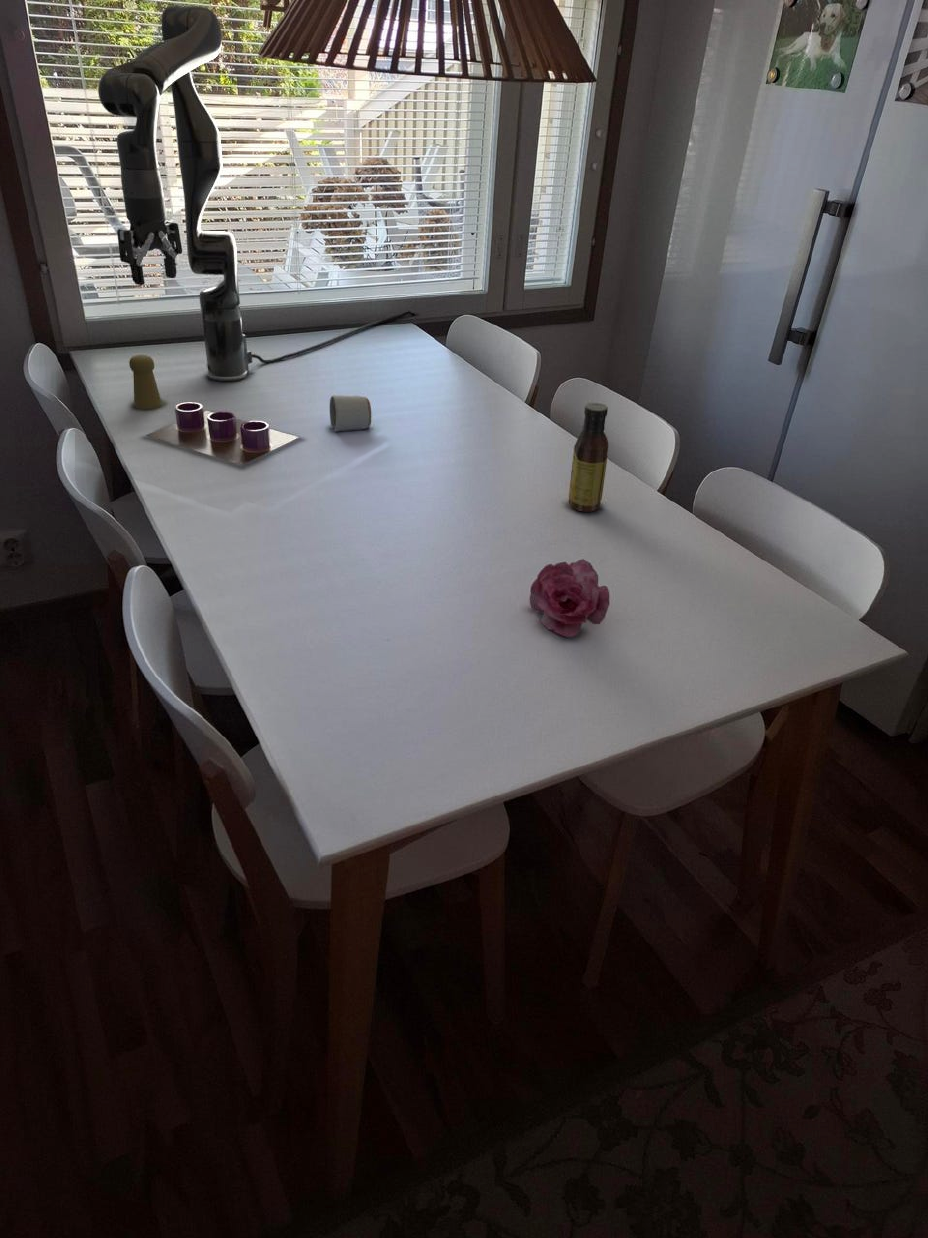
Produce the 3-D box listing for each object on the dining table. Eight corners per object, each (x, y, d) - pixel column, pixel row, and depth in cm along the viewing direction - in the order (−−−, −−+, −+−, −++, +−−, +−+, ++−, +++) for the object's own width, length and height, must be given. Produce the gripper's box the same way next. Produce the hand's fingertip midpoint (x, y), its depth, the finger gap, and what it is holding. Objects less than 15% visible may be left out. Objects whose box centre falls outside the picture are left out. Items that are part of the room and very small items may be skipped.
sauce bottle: (581, 496, 166) (595, 396, 155) (607, 507, 162) (623, 406, 151) (559, 505, 162) (572, 404, 151) (585, 517, 159) (600, 414, 147)
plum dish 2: (208, 432, 181) (205, 412, 179) (234, 430, 183) (232, 410, 180) (211, 442, 177) (208, 422, 174) (238, 440, 179) (236, 419, 176)
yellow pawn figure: (157, 410, 192) (149, 361, 186) (130, 408, 192) (122, 359, 186) (165, 400, 197) (158, 352, 191) (139, 399, 197) (131, 351, 191)
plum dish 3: (254, 438, 180) (253, 418, 177) (275, 444, 178) (274, 424, 175) (236, 447, 176) (234, 426, 173) (257, 453, 173) (256, 433, 171)
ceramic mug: (373, 433, 187) (372, 399, 182) (336, 436, 184) (335, 402, 180) (361, 417, 195) (360, 384, 191) (325, 420, 192) (324, 386, 188)
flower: (574, 660, 126) (544, 619, 120) (542, 629, 134) (512, 589, 128) (633, 610, 127) (605, 567, 120) (597, 582, 134) (569, 539, 128)
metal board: (207, 413, 192) (207, 410, 192) (299, 439, 182) (299, 437, 182) (146, 437, 179) (145, 435, 178) (241, 468, 169) (241, 465, 168)
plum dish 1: (205, 421, 186) (203, 401, 184) (204, 431, 182) (201, 411, 179) (178, 422, 185) (176, 402, 183) (176, 431, 181) (173, 411, 178)
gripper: (128, 199, 160) (142, 290, 169) (184, 192, 170) (194, 277, 179) (100, 194, 163) (115, 283, 172) (156, 187, 173) (168, 272, 182)
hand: (155, 280), depth 176 cm, fingers open, 8 cm apart
